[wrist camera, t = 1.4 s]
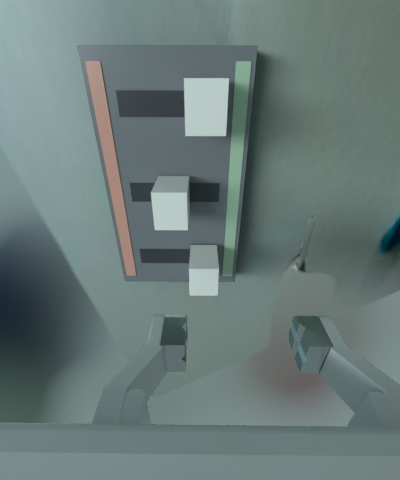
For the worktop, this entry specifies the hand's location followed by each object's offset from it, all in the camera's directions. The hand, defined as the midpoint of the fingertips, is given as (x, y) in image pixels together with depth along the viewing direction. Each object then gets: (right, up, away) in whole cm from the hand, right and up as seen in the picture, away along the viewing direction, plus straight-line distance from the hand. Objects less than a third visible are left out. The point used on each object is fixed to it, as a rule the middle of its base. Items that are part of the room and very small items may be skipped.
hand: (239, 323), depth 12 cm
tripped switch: (-4, +9, +14) cm, 17 cm away
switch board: (-4, +10, +16) cm, 20 cm away
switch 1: (-1, +15, +10) cm, 18 cm away
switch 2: (-1, +2, +18) cm, 18 cm away
